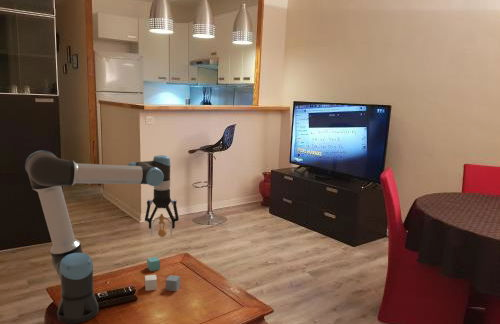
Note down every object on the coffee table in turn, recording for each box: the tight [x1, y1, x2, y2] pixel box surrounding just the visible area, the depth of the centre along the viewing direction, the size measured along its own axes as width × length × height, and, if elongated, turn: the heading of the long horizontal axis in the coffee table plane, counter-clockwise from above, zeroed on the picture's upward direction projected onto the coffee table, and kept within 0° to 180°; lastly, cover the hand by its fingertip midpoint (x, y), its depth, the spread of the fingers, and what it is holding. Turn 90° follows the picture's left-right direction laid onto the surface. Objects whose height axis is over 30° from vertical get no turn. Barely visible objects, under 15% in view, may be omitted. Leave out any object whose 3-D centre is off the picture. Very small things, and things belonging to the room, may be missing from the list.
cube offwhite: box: [144, 274, 158, 292], centre depth 181 cm, size 5×5×5 cm
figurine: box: [152, 213, 171, 238], centre depth 188 cm, size 8×6×12 cm
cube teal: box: [146, 256, 161, 272], centre depth 201 cm, size 5×5×5 cm
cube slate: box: [165, 274, 181, 292], centre depth 182 cm, size 5×5×5 cm
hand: (161, 234), depth 189 cm, fingers closed on figurine, 8 cm apart
